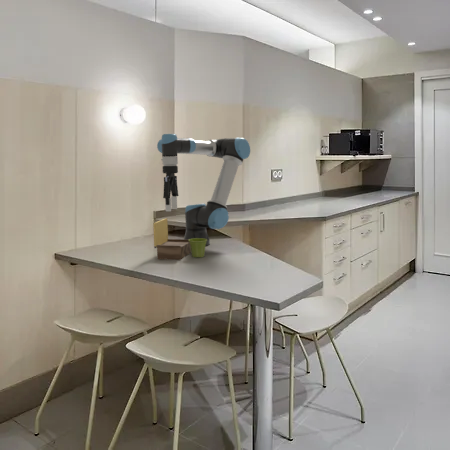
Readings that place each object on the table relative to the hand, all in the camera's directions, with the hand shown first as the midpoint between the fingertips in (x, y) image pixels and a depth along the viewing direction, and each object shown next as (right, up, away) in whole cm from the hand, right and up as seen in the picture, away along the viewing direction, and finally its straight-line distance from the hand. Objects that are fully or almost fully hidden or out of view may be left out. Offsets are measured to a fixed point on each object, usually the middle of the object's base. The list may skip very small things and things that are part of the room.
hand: (171, 210), depth 252 cm
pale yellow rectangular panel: (-6, -17, +4) cm, 18 cm away
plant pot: (+13, -24, +1) cm, 27 cm away
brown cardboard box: (+1, -23, +3) cm, 23 cm away
